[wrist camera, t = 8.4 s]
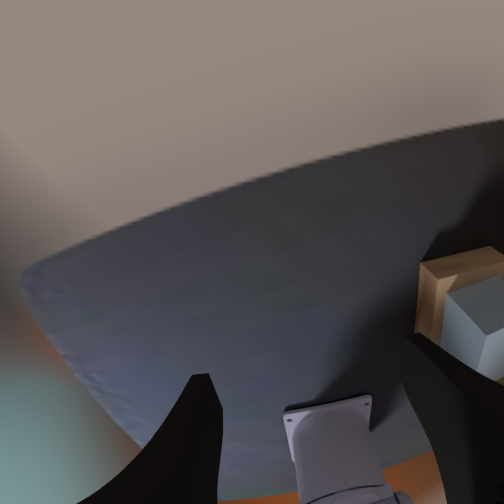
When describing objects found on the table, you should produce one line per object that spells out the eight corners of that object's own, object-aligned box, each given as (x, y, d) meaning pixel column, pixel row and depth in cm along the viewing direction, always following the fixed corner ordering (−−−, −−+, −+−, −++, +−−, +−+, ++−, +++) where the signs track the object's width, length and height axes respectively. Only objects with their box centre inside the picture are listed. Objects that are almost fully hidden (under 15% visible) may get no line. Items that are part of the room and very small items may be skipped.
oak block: (475, 316, 23) (492, 335, 20) (411, 337, 23) (425, 360, 20) (487, 244, 20) (510, 259, 17) (417, 260, 20) (437, 279, 18)
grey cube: (487, 329, 19) (520, 366, 15) (439, 349, 20) (469, 393, 15) (497, 274, 18) (539, 309, 13) (446, 293, 18) (486, 335, 13)
